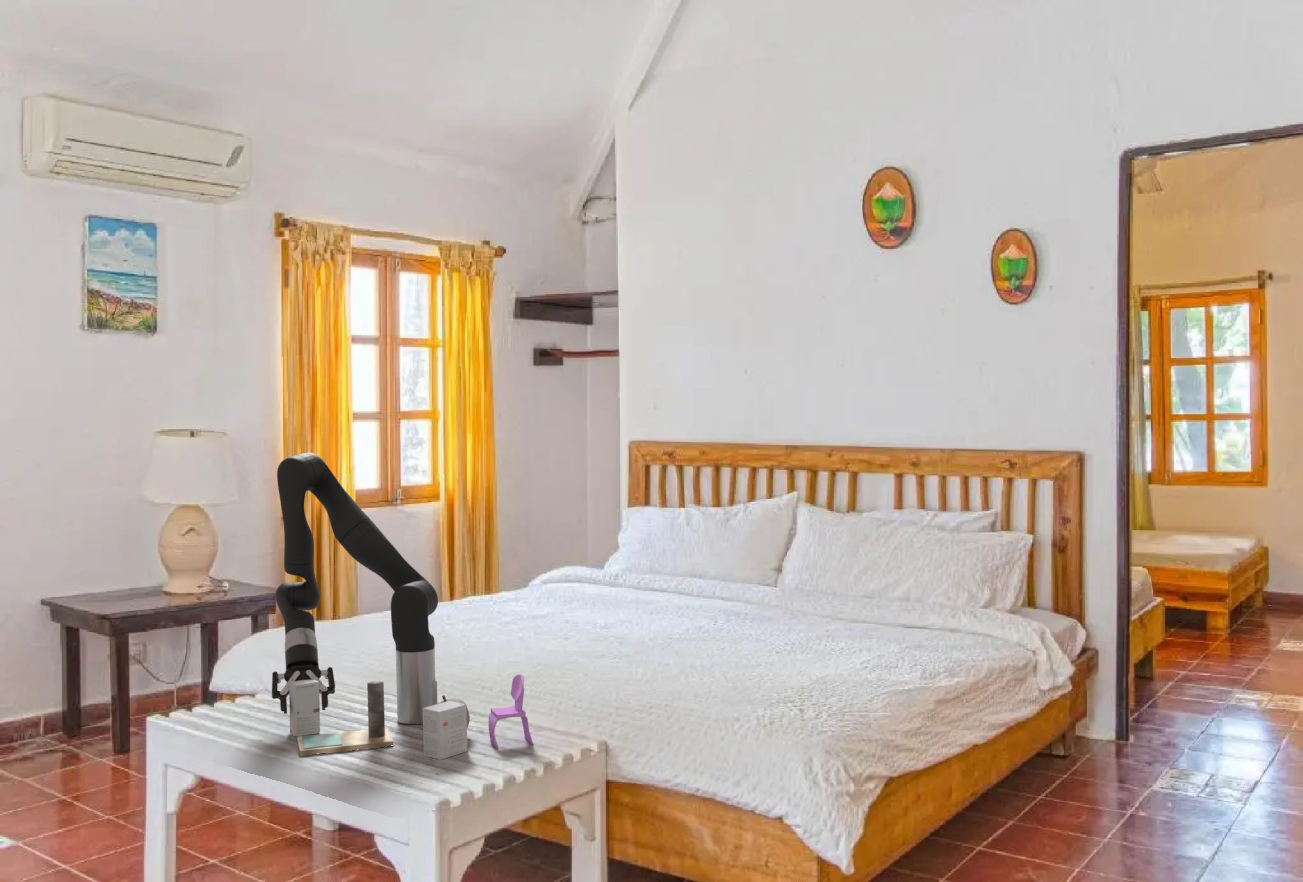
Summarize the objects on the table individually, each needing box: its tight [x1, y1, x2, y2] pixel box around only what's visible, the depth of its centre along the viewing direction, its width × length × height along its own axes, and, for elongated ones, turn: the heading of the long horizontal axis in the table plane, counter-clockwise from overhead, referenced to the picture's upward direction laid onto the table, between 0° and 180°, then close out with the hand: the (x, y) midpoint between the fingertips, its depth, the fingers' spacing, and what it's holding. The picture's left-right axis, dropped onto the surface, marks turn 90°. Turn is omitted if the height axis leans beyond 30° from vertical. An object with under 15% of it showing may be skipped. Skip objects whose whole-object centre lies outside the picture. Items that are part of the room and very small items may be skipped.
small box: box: [422, 701, 468, 761], centre depth 263 cm, size 8×6×10 cm
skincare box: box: [288, 679, 321, 738], centre depth 282 cm, size 6×4×12 cm
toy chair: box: [488, 674, 534, 749], centre depth 271 cm, size 8×9×15 cm
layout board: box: [297, 680, 394, 757], centre depth 272 cm, size 20×12×13 cm, turn 109°
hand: (304, 710), depth 281 cm, fingers open, 8 cm apart
